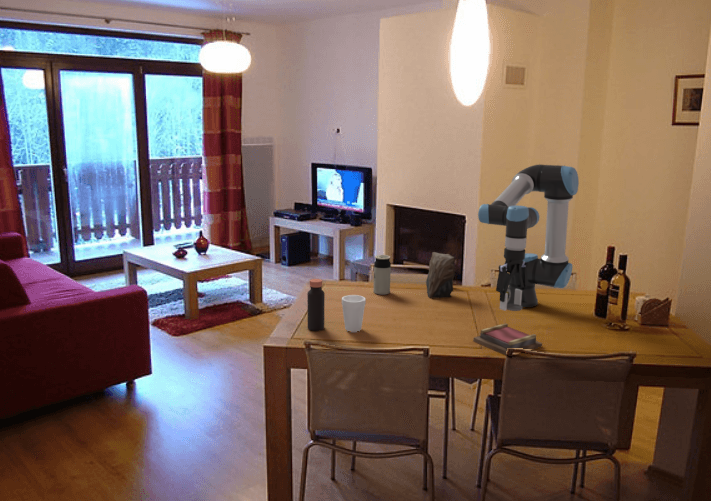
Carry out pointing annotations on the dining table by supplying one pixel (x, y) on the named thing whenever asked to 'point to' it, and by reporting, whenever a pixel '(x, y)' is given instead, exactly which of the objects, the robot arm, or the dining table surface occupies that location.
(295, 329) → the dining table surface
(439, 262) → the grey rough lump
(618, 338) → the dining table surface
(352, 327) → the foam cup
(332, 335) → the dining table surface
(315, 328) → the bottle
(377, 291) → the travel mug
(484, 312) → the dining table surface
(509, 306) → the pocket watch
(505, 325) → the stand
